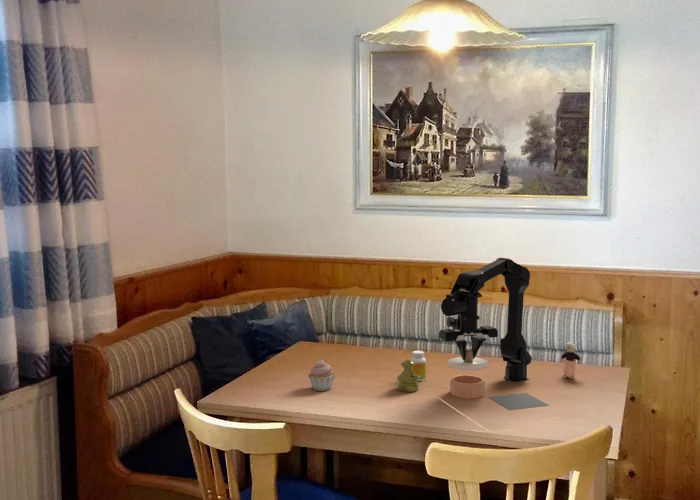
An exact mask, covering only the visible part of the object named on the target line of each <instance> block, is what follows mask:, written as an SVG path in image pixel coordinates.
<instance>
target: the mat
mask: <svg viewBox="0 0 700 500" xmlns="http://www.w3.org/2000/svg"><path fill="white" fill-rule="evenodd" d="M487 398H488V399H489V400H491V401H493V402H494V403H496V404H498V405H500V406H501V407H503V408H505V409H506V410H508V411H514V410H522V409H530V408H531V409H533V408H540V407H548V406H549V407H550V404H548V403H546V402H544V401H542V400H541V399H538V398H536V397H534V396H533V395H531V394H529V393H528V392H520V393H513V394H511V393H510V394H503V395H492V396H487Z"/></svg>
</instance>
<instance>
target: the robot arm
mask: <svg viewBox="0 0 700 500" xmlns="http://www.w3.org/2000/svg"><path fill="white" fill-rule="evenodd" d="M500 275H501V276H503V277H504V285H505V287H506V289H507V291H508V306H507V307H508V308H507V326H506V328H507V329H506V334H505V336H504V337H502V338H500V347H499V350H500V354H501V359H502V361H503V362H506V366H505V372H504V373H505V375H504V376H503V378H504V379H505V380H508V381H511V382H514V383H516V382H523V381H524V382H525V381H530V379H529V378H528V377H527V376H528V374H527V373H528V365H530V364H531V363H532V360H533V357H532V355H531V354H530V353H529V352H528V350H527V342H526V340H525V338H524V336H523V317H524V316H523V314H524V296H525V295H524V294H525V292H526V290H527V289H528V287H529V285H530V280H531V279H530V277H531V272H530V270H529V269H528V267H525V266H524V265H521V264H519V263H517V262H515V261H514V260H512V259H510V257H509V258H507V257H498V258H496V260H494V261H492V262H490V263H488V264H486V265H484V266H483V267H480V268H478V269H475V270H470V271H469V270H468V271H464V272H461V273H459V274H458V275H457V278H456V280H455V282H454V284H453V287H452V289H451V291H450V293H448V294H446V295H445V298H444V299H443V300H442V301H441V304H440V309H441V312H442V314H444V316H446V317H447V318H446V327H447V328H445V329H443V328H442V329H440V330H439V331H438V338H439V339H440V340H442V341H445V342H455V344H456V346H457V348H458V351H459V354H460V357H462V360H465V356H466V349H467V340H465V337H470V341H471V349H473V359H474V358H476V356H477V353H478V352H479V350H480V348H481V347H482V345H483V343H484V342H486V341H487V338H485V335H486V336H487V337H488V338H490V339H491V338H498V337H499V330H498V329H497V327H494V326H491V325H481V326H480V327H479V328H478V325H479V323H478V321H479V320H480V319H481V318H480V315H478V314H479V313H478V309H479V306H478V304H479V298H482V297H483V294H482V293H480V290H481V289H483V288H484V286H485V284H486V283H487V282H488V281H490V280H492V279H494V278H496V277H497V276H500ZM454 316H457V318H455V317H454Z"/></svg>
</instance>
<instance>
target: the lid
mask: <svg viewBox="0 0 700 500" xmlns="http://www.w3.org/2000/svg"><path fill="white" fill-rule="evenodd" d="M447 365H448V367H450V368H452V369H456V370H461V371H479V370H484V369H487V368H489V361H488V360H487V359H484V358H482V357H481V358H480V357H475V358H474V359H473V349H472V348H466V356H465V360H462V357H461V356H459V357H458V356H457V357H453V358H450V359H448V361H447Z"/></svg>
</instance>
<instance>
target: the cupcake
mask: <svg viewBox="0 0 700 500" xmlns="http://www.w3.org/2000/svg"><path fill="white" fill-rule="evenodd" d="M307 375H308V379H309V381H310V384H311V388H312V390H313V391H317V392H326V391H327V392H328V391H330V390H331V389H332V386H333V381H334V379H335V377H336V373H334V370H333V368H332V367H331V365H330V364H328V363H325V361H324V360H323V359H320V360H318V361H317V362H315V364H314V365H313V366H312V368H311V369H310V373H308V374H307Z"/></svg>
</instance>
